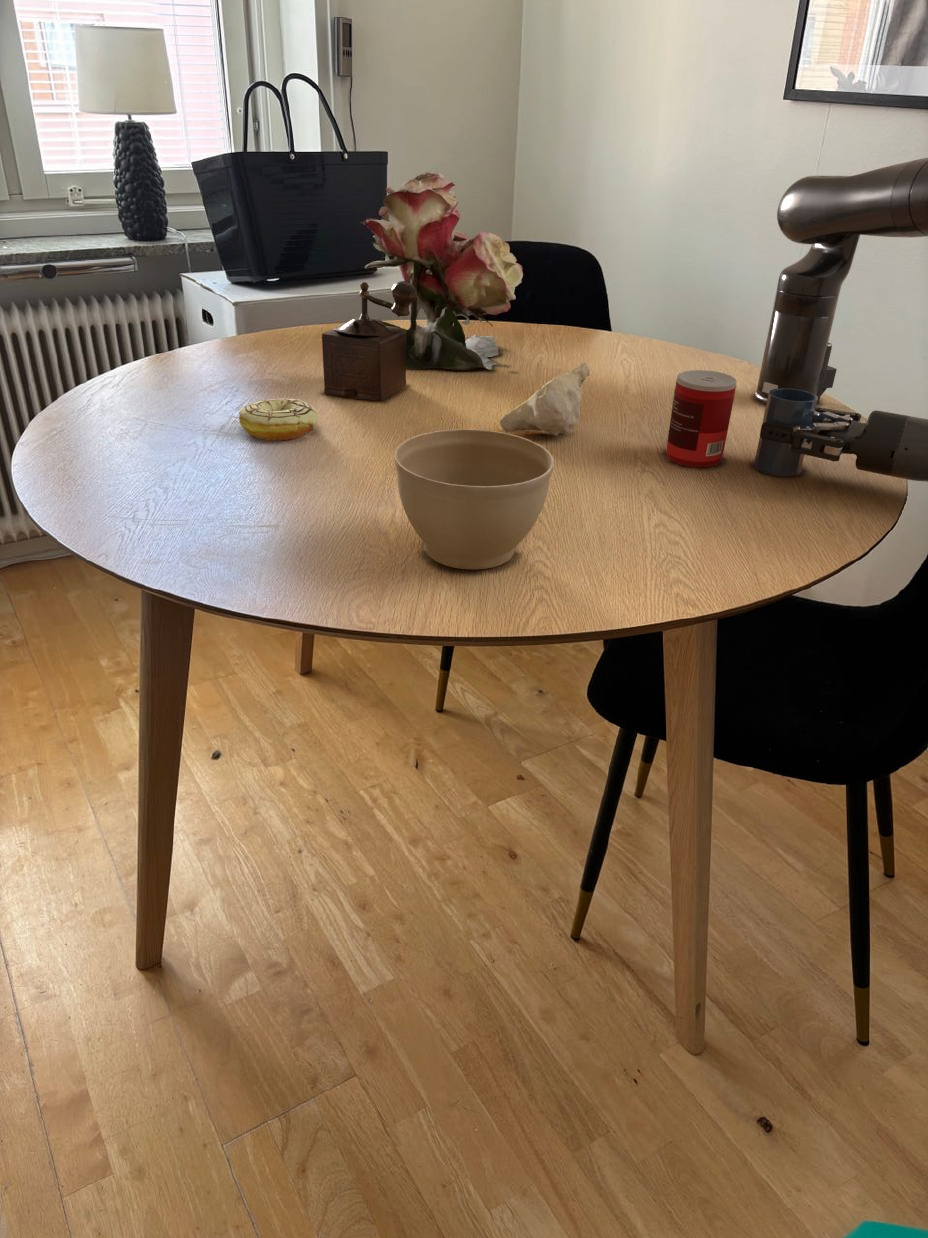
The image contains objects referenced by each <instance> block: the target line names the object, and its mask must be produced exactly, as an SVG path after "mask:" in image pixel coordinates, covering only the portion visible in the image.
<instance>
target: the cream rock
mask: <svg viewBox="0 0 928 1238" xmlns="http://www.w3.org/2000/svg"><path fill="white" fill-rule="evenodd" d="M590 371H591V370H590V369H589V366H588V363H587V362H580V363H579V365H578V366H576V367H575V368H574V369H572V370H571V371H570V370H569V371H568V372H566V373H564V374H558V375H556V376H555V377H554V378H552V379H551V380H549V381H547V382H546V383H545V384H543V386H542V387H541V388H540V389H537V390H536V391H535V392H534V393H533V394H532V395H531V396H530V397H529V398H528V399H526V400H524V401H523V402H522V403H521V404H519V405H518V406H516V407H513V408H512V409H511V410H509V411H508V412H507V413H506V414H504V415H503V416H502V417H501V419H500V420H499V421H498V422H499V426H500V427H501V429H502V431H504V432H505V433H510V434H512V433H514V432H517V431H519V432H525V431H537V432H546V433H548V434H551V435H553V436H555V437H557V436H558V435H560V433H561V434H562V435H566V434H568V432H569V430H570V429H571V427H573V426H574V425H575V424H577V423H578V421H579V420H580V419H581V415H582V414H581V412H580V406H581V403H582V397H583V395H584V392H583V388H582V387H583V385H584V382H585V381H586V380H587V377H589V376H590Z"/></svg>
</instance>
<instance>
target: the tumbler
mask: <svg viewBox="0 0 928 1238" xmlns="http://www.w3.org/2000/svg"><path fill="white" fill-rule="evenodd" d="M817 399H818V397H817V396H816V395H815V394H813V393H810V392H808V391H804V390H799V389H792V388H777V389H773V390H770V391H769V394H768V399H767V404H765V409H764V415H763V417H762V423H761V425H762V424H763V423H764V422H765V421H771V422H777V423H782V424H787V425H793V426H810V425H811V424H812V421H813V416H814V412H815V408H816V407H817V404H818V403H817ZM803 441H807V439H803ZM790 450H791V447H790V446H789V443H788V444H787V443H782V442H777V441H772V440H766V439H762V438H761V437H760V436H759V438H758V443H757V448H756V452H755V456H754V457H755V458H754V463H753V467H754V468H755V469H756V470H757V471H759V472H761V473H763V474H766V475H770V476H775V477H787V478H788V477H795V476H797V475H799V474H800V473H801V472H802V468H803V464H804V460H805V455H804V454H800V453H794V452H792V451H790Z"/></svg>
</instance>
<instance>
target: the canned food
mask: <svg viewBox="0 0 928 1238" xmlns="http://www.w3.org/2000/svg"><path fill="white" fill-rule="evenodd" d="M736 388H737V379H736V378H735V377H734V376H732V375H730V374H728V373H724V372H719V371H714V370H705V369H704V370H703V369H691V370H686V371H682V372H680V373H678V374H677V378H676V381H675V387H674V393H673V399H672V406H671V414H670V418H669V419H670V420H669V427H668V434H667V440H666V447H665V451H666V456H667V458H668V459H669V460H670V461H671V462H673V463H675V464H677V465H680V466H683V467H689V468H709V467H713V466H716V465H718V464H719V463H720V462H721V461H722V459H723V457H724V453H725V447H726V443H727V437H728V433H729V428H730V427H729V426H730V421H731V418H732V417H731V416H732V411H733V406H734V400H735V395H736Z"/></svg>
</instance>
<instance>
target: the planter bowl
mask: <svg viewBox="0 0 928 1238" xmlns="http://www.w3.org/2000/svg"><path fill="white" fill-rule="evenodd" d="M393 457H394V459H393V461H394V466H395V469H396V481H397V490H398V495H399V498H400V502H401V505H402V508H403V511H404V513H405V515H406V517H407V519H408V521H409V523H410V525H411V527H412V528H413V530H414V531H415V533H416V534H417V536H418V537H419V539H421V541H422V542H423V546H424V550H425V553H426V554H427V556H428V557H430V558H431V559H432V560H433V561H435V562H437V563H438V564H441V565H442V566H443V565H444V566H446V567H449V568H455V569H459V570H461V569H462V570H485V569H492V568H496V567H499V566H501V565H504V564H505V563H507V562H508V561H510V560H511V559H512V557H513V556H514V553H515V549H516V547H517V546H518V545H519V544H520V543H521V542H522V541H523V540H524V539H525V537H527V535H528V534H529V533H530V531H531V530H532V528H533V527H534V525H535V524H536V522H537V521H538V519H539V516H541V515H540V514H541V513H542V511H543V508H544V506H545V503H546V499H547V496H548V493H549V488H550V480H551V477H552V475H553V471H554V467H555V466H554V465H555V459H554V457H553V455H552V454H551V452H550V451H549V450H547V449H546V448H545V447H544V446H542V445H540V444H538V443H536V442H534V441H532V440H530V439H528V438H526V437H522V436H519V435H516V434H512V433H509V432H502V431H501V432H500V431H498V430H497V431H495V430H488V429H474V428H457V429H443V430H442V429H441V430H436V431H431V432H425V433H422V434H421V433H420V434H417V435H415V436H412V437H409V438H407V439H405V440H403V441H402V442H400V443H399V444H398V445H397V447H396V448H395V450H394V454H393Z"/></svg>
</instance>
